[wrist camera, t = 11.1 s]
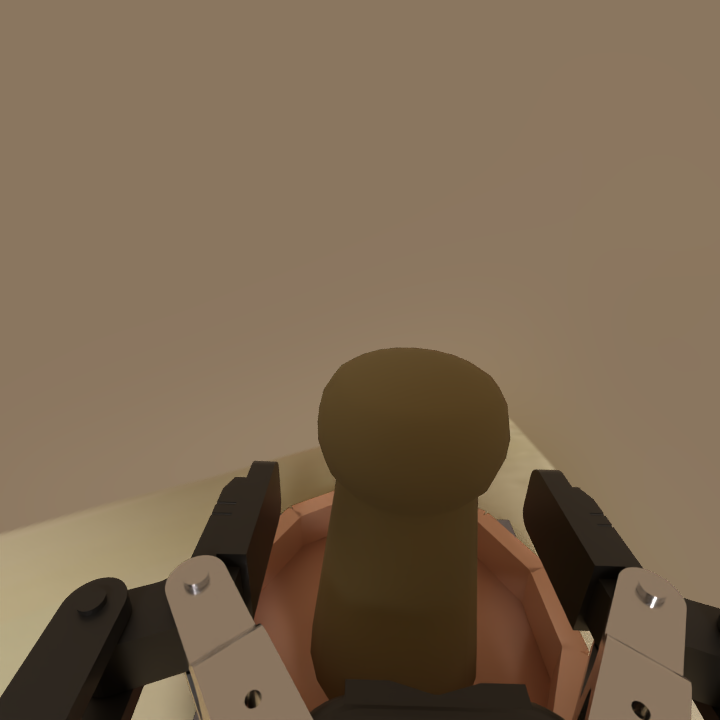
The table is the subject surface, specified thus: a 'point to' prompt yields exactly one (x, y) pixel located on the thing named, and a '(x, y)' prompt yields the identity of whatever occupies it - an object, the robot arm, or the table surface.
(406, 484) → the pepper mill
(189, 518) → the table surface
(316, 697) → the bowl
